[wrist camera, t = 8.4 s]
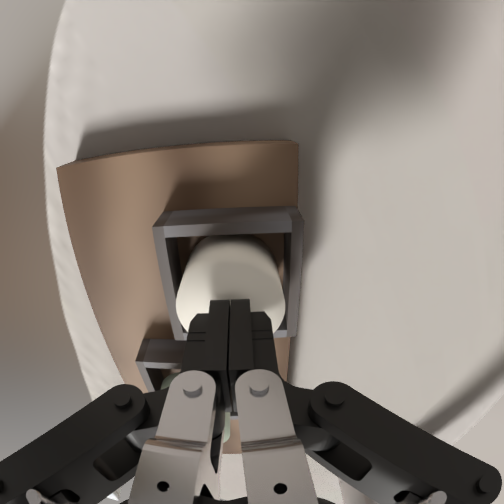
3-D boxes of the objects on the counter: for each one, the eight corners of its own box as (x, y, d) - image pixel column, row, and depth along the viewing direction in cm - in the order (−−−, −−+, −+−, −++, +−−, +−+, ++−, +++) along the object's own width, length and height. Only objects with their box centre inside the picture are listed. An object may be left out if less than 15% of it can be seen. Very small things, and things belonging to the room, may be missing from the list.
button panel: (291, 140, 14) (308, 148, 10) (276, 436, 26) (280, 467, 23) (74, 160, 14) (34, 176, 10) (165, 435, 26) (161, 465, 22)
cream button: (277, 229, 13) (287, 259, 11) (275, 307, 15) (283, 346, 13) (181, 233, 13) (167, 264, 10) (192, 310, 15) (185, 349, 12)
